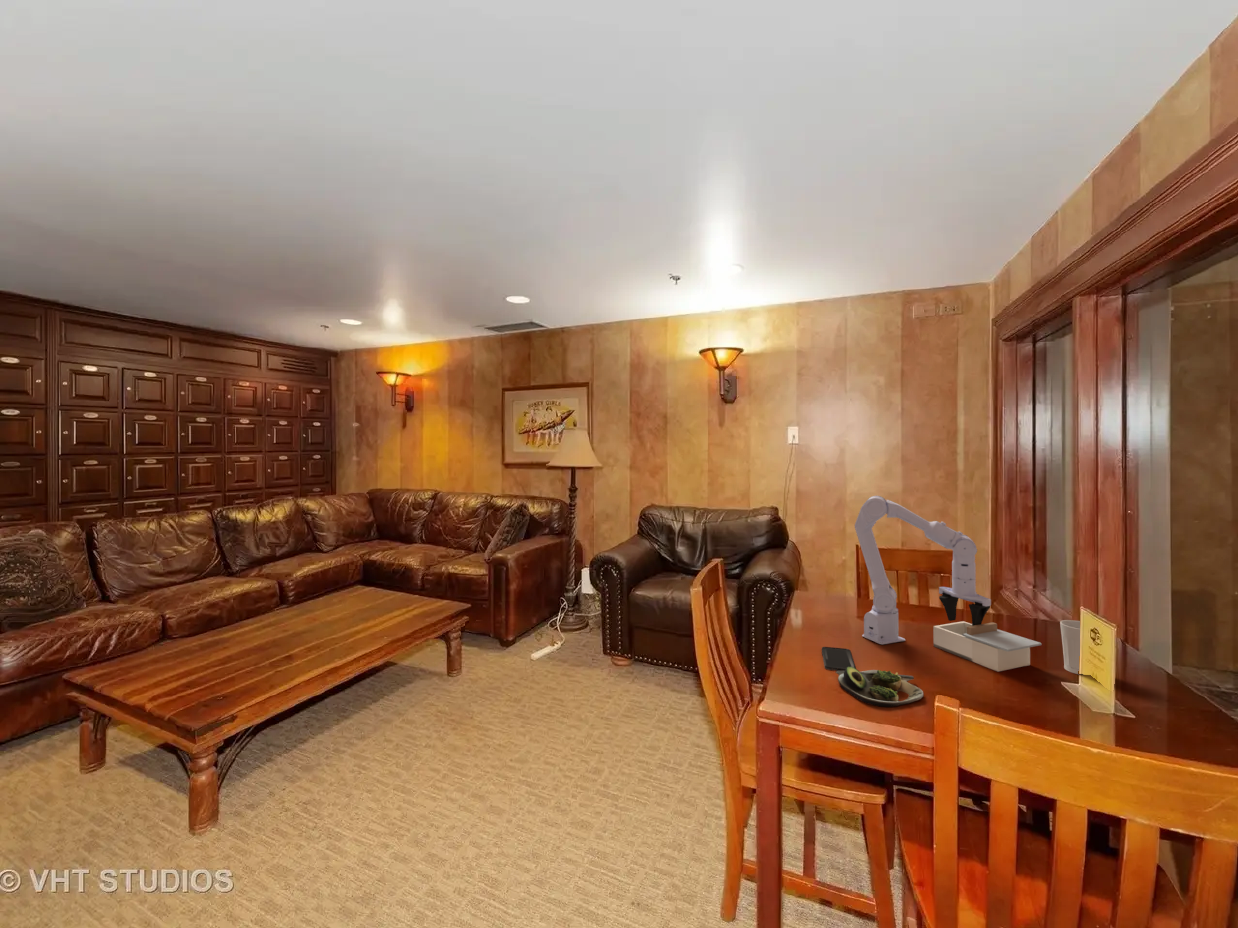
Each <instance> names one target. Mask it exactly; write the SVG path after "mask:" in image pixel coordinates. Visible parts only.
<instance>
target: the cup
mask: <svg viewBox="0 0 1238 928" xmlns="http://www.w3.org/2000/svg"><path fill="white" fill-rule="evenodd" d="M1080 621H1081V620H1072V619H1071V620H1070V619H1064V620H1063V619H1062V620H1060V621H1059V624H1060V634H1061V635H1060V636H1061V643H1062V653H1063V664H1064V665H1063V668H1064V670H1066V671H1068V672H1069V673H1072V674H1076V675H1079V674H1078V671H1079V656H1080Z"/></svg>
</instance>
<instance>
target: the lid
mask: <svg viewBox="0 0 1238 928" xmlns="http://www.w3.org/2000/svg"><path fill="white" fill-rule="evenodd" d="M962 636H965V637H968V638H970V639H973V640H976V641H979V642H982V643H985V644H988V645H990V646H993V647H996V648H999V649H1002V650H1005V651H1007V652H1008V651H1013V650H1019V649H1024V648H1029V647H1030V648H1033V647H1038V646H1042V643H1041V642H1040V641H1036V640H1032V639H1030V638H1026V637H1023V636H1020V635H1017V634H1014V633H1011V632H1007V631H1005V630H1001V629H998V623H996V622H988V623H987V622H986V623H982V624H980V625H974V626H968V627H967V633H965V634H962Z"/></svg>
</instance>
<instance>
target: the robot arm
mask: <svg viewBox="0 0 1238 928" xmlns="http://www.w3.org/2000/svg"><path fill="white" fill-rule="evenodd" d="M885 515H886V518H888V519H890V518H893V519H894V518H897V519H900V520H902V521H903V522H905V523H908V524H910V525H911V526H913V527H915V528H918V529H919V530H921V531H923V533H924V537H925V538H926V539H929V540H931V541H932V542H934V543H936V544H937V545H939V546H941V547H943V548H945V549H947V550H952V561H951V570H952V571H951V583H952V585H951V587H947V586H938V594H941V595H939V597H938V598H939V600H940V602H941V604H942V605H943V607H944V609H945V612H946V613H945V614H946V616H947V620H948V621H950V622H951V621H952V622H953V621H956V619H957V606H958V602H959V599H960V600H964V601H968V602H971V603H970V604H969V603H968V607H969V609H970V614H971V624H972V626H974V625H980V624H983V623H982V622H983V621H984V618H985V615H986V614H987V613H988V611H989V610H990V608H991V605H992V599H991V598H988V597H985V596H983V595H981V594H978V592H977V591H976V590H977V588H976V583H977V581H976V580H977V579H976V576H977V573H976V572H977V569H976V566H977V564H976V555H977V554H978V553H977V552H978V549H977V546H976V543H975V542H974V540H973V539H972V538H970V537H969V536H968V535H966V534H964V533H963V532H961V531H956V530H954V529H952V528H950V527H949V526H947V523H946V522H945V521H941V522H939V520H938V521H937V520H933V521H928V520H927V519H925V518H923V517H921V516H920V515H918V514H916V513H915V512H913V511H911V510H909V508H906V507H904V506H903V505H901V504H899V503H897V502H894V501H892V500H890V499H885V498H884V497H883V496H881V495H873V496H872V495H871V496H870V497H869V498H868V499H867V500H866V501H865V502H864V503H863V504H862V506H861V507H860V510H859V513H858V515H857V518H856V521H855V523H854V529H855V533H856V536H857V540H858V542H859V545H860V548H861V549H860V550H861V552H862V556H863V558H864V562H865V565H866V568H867V571H868V572H867V573H868V575H869V578H870V582H871V586H872V588H871V589H872V592H873V599H872V600H873V601H872V604H873V605H872V607H871V610H870V611H868V612H866V613H865V614H864V617H863V634H862V635H861V636H862V638H863V637H864V639H865V638H866V639H867V640H870V641H873V642H875V643H877V644H879V645H883V646H884V645H888V644H894V643H899V642H905V641H906V639H905V638H904V637H901V636H899V608H897V598H898V596H897V592H896V590H895V589H894V588H893V587H892V585H891V583H890V580H889V578H888V576H887V573H886V570H885V567H884V564H883V560H882V556H881V553H880V551H879V550H880V549H879V547H878V544H877V540H876V537H875V534H874V532H873V527H874V526H875V525H876V523H877V521H879V520H880V519H881V518H883V517H884V516H885Z"/></svg>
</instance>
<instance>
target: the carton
mask: <svg viewBox="0 0 1238 928" xmlns="http://www.w3.org/2000/svg"><path fill="white" fill-rule="evenodd" d="M968 626H972V623H970V622H966V621H964V620H962V621H957V622H951V623H950V622H949V623H945V624H940V625H939V624H938V625H933V632H932V633H933V647H935V648H937V649H940V650H942V651H945V652H947V653H950V654H952V655H955V656H957V657H960V658H961V659H965V660H967V661H970V662H972V663H976V664H978V665H980V666H982V667H985V668H988V669H989V670H993V671H995V672H1003V671H1007V670H1012V669H1017V668H1021V667H1022V668H1023V667H1027V666H1030V665H1031V647H1029V648H1024V649H1019V650H1013V651H1008V652H1007V651H1005V650H1002V649H999V648H996V647H993V646H990V645H988V644H985V643H982V642H979V641H976V640H973V639H970V638H968V637H965V636H962V634H965V633H967V627H968Z"/></svg>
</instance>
